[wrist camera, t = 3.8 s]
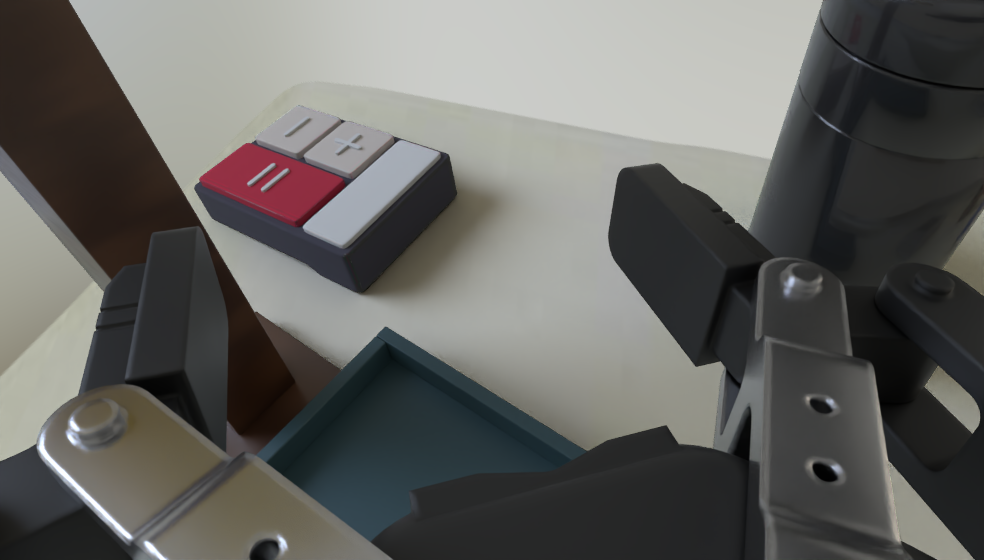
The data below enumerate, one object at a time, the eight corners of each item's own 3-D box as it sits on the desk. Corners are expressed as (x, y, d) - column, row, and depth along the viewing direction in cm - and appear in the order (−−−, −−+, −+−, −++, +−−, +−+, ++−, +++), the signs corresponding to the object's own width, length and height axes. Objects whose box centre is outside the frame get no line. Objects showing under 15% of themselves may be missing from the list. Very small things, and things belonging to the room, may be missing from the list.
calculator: (297, 96, 50) (450, 144, 43) (314, 142, 53) (460, 193, 46) (185, 178, 44) (341, 248, 37) (212, 224, 47) (361, 295, 41)
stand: (269, 317, 40) (-213, -525, 15) (395, 404, 36) (0, -616, 10) (146, 423, 36) (-818, -509, 11) (272, 539, 31) (-937, -654, 6)
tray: (394, 351, 38) (385, 325, 36) (815, 621, 27) (836, 605, 25) (231, 519, 32) (209, 500, 30) (686, 949, 21) (699, 962, 19)
